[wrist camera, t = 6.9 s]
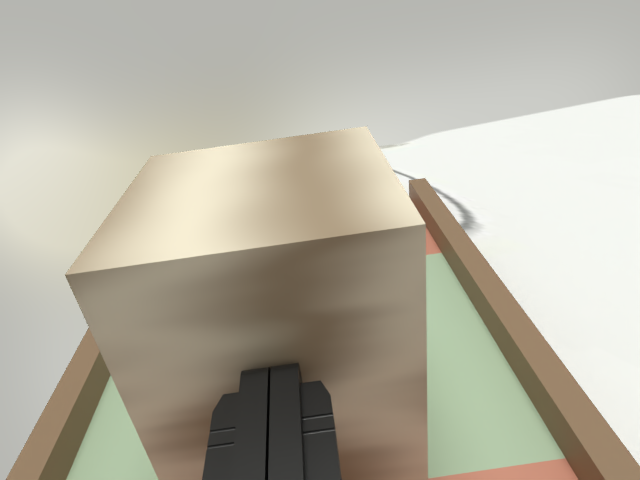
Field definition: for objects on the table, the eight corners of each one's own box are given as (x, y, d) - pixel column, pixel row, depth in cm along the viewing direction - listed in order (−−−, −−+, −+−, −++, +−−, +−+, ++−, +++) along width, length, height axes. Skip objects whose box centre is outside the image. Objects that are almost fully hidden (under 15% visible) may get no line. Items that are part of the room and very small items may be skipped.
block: (183, 532, 15) (64, 275, 10) (212, 358, 22) (150, 156, 17) (428, 496, 15) (425, 223, 10) (380, 334, 22) (366, 126, 17)
